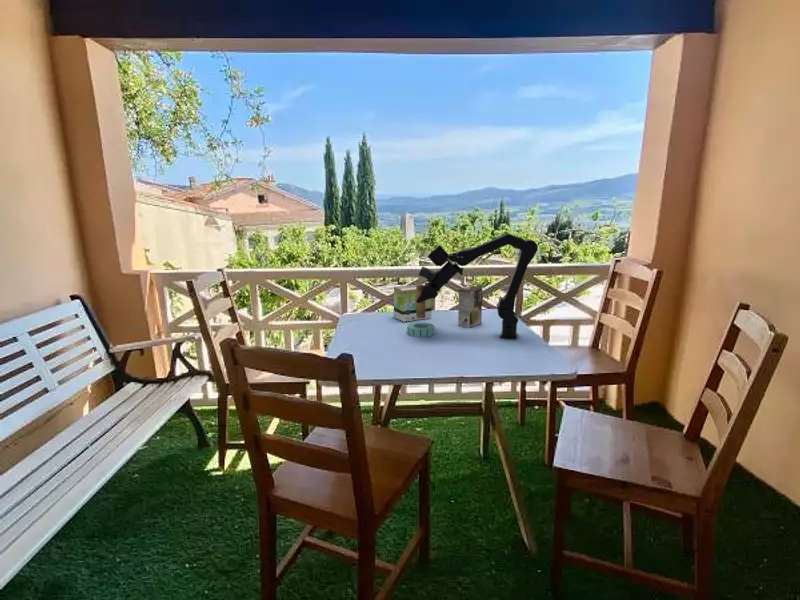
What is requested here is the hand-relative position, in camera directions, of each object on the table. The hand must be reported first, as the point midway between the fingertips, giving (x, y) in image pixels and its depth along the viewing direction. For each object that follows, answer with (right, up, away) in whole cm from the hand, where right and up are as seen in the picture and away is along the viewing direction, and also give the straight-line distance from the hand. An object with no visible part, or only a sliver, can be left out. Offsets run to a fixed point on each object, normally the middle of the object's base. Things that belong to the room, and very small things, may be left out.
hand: (417, 301), depth 186 cm
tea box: (-1, -8, +26) cm, 27 cm away
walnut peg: (+1, -6, +1) cm, 7 cm away
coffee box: (+23, -11, +14) cm, 29 cm away
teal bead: (+1, -13, +3) cm, 13 cm away
